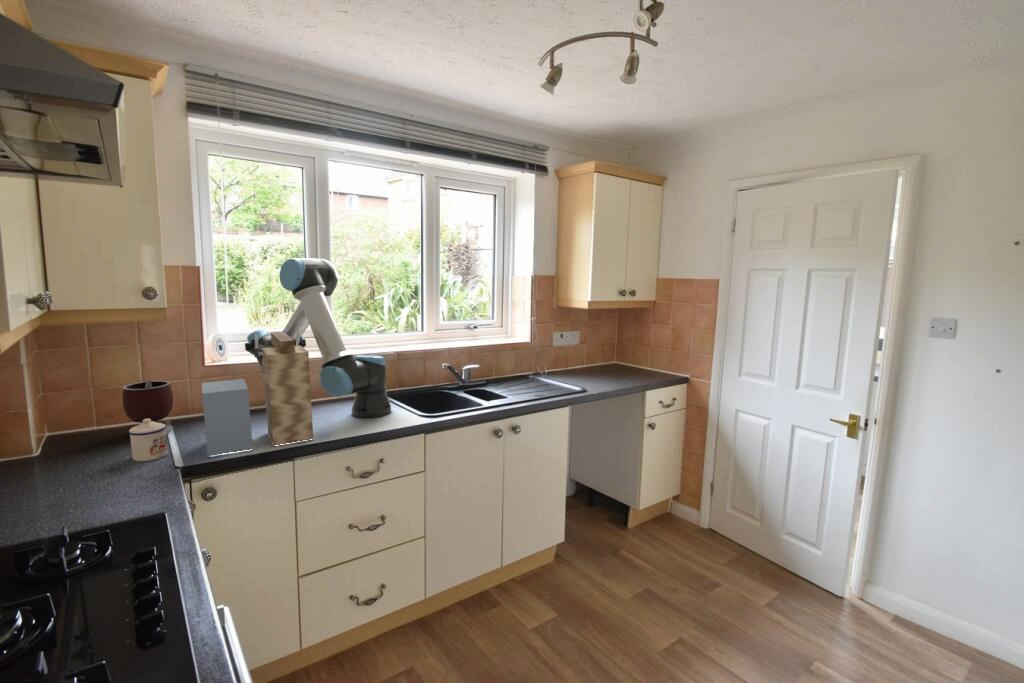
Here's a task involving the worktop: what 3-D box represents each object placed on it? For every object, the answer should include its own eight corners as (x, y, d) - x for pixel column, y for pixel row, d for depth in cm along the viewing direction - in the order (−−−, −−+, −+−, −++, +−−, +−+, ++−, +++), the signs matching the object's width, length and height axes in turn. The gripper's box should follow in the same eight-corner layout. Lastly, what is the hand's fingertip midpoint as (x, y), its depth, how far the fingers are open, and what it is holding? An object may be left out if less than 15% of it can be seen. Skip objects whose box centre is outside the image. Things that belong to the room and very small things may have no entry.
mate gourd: (124, 432, 171) (118, 376, 168) (172, 424, 180) (167, 370, 177) (129, 444, 160) (122, 384, 157) (180, 434, 169) (174, 377, 166)
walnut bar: (283, 342, 179) (282, 331, 179) (295, 352, 158) (294, 340, 157) (271, 343, 177) (270, 332, 177) (281, 353, 155) (280, 341, 155)
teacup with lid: (155, 462, 145) (151, 424, 143) (124, 462, 145) (119, 424, 143) (181, 447, 157) (178, 412, 155) (152, 447, 157) (149, 412, 155)
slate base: (248, 436, 168) (244, 378, 165) (252, 450, 155) (248, 388, 152) (207, 442, 162) (202, 383, 159) (207, 458, 148) (202, 393, 145)
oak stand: (304, 427, 177) (300, 345, 173) (313, 440, 164) (308, 351, 160) (267, 433, 171) (262, 348, 167) (273, 447, 158) (267, 355, 153)
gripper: (309, 363, 196) (316, 343, 179) (238, 370, 183) (238, 348, 166) (306, 346, 199) (313, 324, 182) (236, 351, 185) (236, 328, 169)
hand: (278, 336), depth 174 cm, fingers open, 13 cm apart
